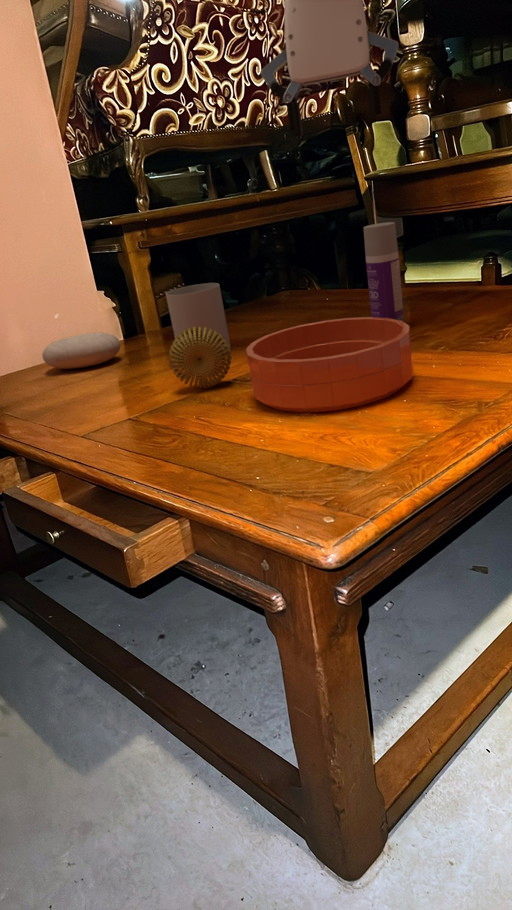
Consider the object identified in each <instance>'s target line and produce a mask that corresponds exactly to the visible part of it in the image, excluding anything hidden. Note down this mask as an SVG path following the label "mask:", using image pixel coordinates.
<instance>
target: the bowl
mask: <svg viewBox="0 0 512 910" xmlns="http://www.w3.org/2000/svg"><path fill="white" fill-rule="evenodd" d="M411 337H412V335H411V326H410V324H407V323H406V322H405V321H404V322H403V321H400V320H395V319H391V318H378V317H372V316H366V317H365V316H363V317H362V316H361V317H343V318H336V319H327V320H321V321H315V322H310V323H304V324H300V325H296V326H291V327H288V328H284V329H281V330H277V331H275V332H272V333H269V334H267V335H264V336H262V337H259V338H258V339H256V340H254V341H252V342H251V343H250V344H249V345H248V346H247V347H246V348H245V354H246V359H247V363H248V364H247V365H248V370H249V376H250V377H249V378H250V381H251V388H252V392H253V396H254V399H255V400H257V401H259V402H260V403H262V404H264V405H266V406H267V407H270V408H271V409H275V410H279V411H284V412H289V413H290V412H291V413H292V412H293V413H320V412H321V413H322V412H332V411H341V410H346V409H347V410H348V409H351V408H357V407H360V406H365V405H369V404H371V403H375V402H377V401H380V400H383V399H385V398H387V397H390V396H391V395H394V394H395V393H397V392H398V391H400V390H401V389H403V387H404V386H405V385H406V384H407V383H408V382H409V381H411V380H412V378H413V377H414V376H413V375H414V363H413V361H414V360H413V350H412V338H411Z"/></svg>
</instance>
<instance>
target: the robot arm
mask: <svg viewBox="0 0 512 910" xmlns="http://www.w3.org/2000/svg"><path fill="white" fill-rule="evenodd" d="M283 8H284V10H283V11H284V15H283V16H284V17H283V18H284V37H285V39H284V40H285V48H284V49H283V50H282V51H281V52H280V53H279V54H278V55H276V56H275V57H274V58H273V59H272V60H271V61H270V62H268V63H267V64H266V65H264V66H263V68H262V69H260V76H261V77H262V79H263V80H264V82H265V84H266V85H267V87H268V88H269V89H270V91H271V92H272V93H273V94H274V95H276V96H277V97H278V98H279V99H280V100H282V101H283V102H284V103H285V104H286V108H287V117H288V124H289V130H290V132H293V131H294V132H295V134H294V135H295V137H296V138H299V137H300V138H301V137H302V136H304V130H303V122H302V115H301V107H300V103H299V102H298V98H297V97H298V96H299V94H300V92H301V90H302V88H303V87H304V86H311V85H316V84H322V83H326V82H331V81H335V80H342V79H345V78H346V79H347V78H351V77H355V76H359V75H360V76H361V77H362V78H363V79H364V80H365V81H366V82H367V83H368V88H367V98H368V109H369V120H370V123H372V124H376V123H377V116H378V115H382V107H381V96H380V85H381V84H382V82H383V81H384V80H385V79H386V76H387V75H388V74H389V72H390V71H391V69H392V66H393V64H394V62H395V58H396V56H397V53H398V50H399V47H400V46H399V45H400V44H399V42H398V41H397V40H395V39H393V38H389V37H386V36H383V35H380V34H378V33H375V32H372V31H369V30H368V27H367V26H368V25H367V19H366V13H365V6H364V2H363V0H284V7H283ZM370 46H371V47H374V48H376V49H380V50H383V51H384V52H385V53H384V58H383V60H382V62H381V64H380V65H379V67H378V68H377V70H376V71H375V70H374V69H373V68H372V67H371V66H370V63H371V54H370V52H371V51H370ZM286 64H287V70H288V75H289V78H290V83H289V84H288V86H287V88H285V87H284V86H282V85H281V84H280V83H279V81H278V80H277V78H276V73H277V72H278V71H280V69H282V68H283V67H284V66H285V65H286Z"/></svg>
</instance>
